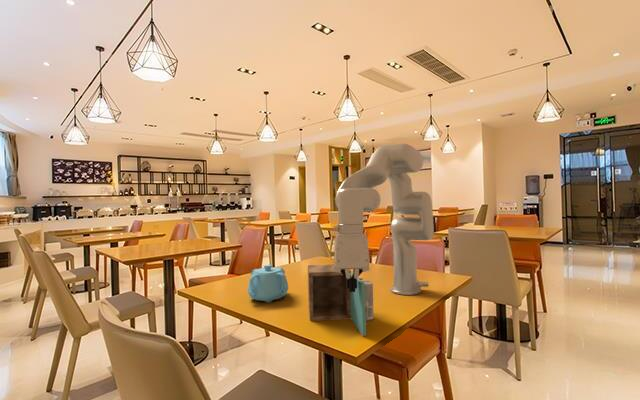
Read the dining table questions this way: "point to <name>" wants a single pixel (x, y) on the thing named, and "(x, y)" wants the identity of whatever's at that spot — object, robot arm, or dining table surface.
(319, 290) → the cabinet
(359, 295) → the door
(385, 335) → the dining table surface
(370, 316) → the energy drink
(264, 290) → the decorative pot
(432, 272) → the dining table surface
